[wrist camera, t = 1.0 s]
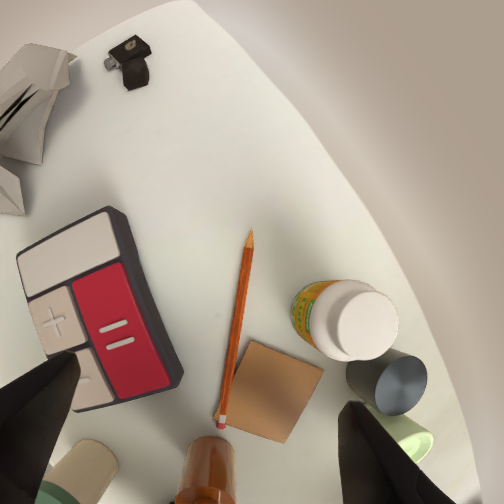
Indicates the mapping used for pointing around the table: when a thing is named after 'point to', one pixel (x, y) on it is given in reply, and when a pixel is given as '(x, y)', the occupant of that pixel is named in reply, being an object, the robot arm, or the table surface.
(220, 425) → the pencil
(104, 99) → the table surface
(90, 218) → the calculator
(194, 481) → the amber bottle
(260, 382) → the cork pad
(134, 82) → the lighter
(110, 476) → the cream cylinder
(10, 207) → the origami crane
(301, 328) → the supplement bottle
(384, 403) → the grey tin
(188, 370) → the table surface
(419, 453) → the candle
